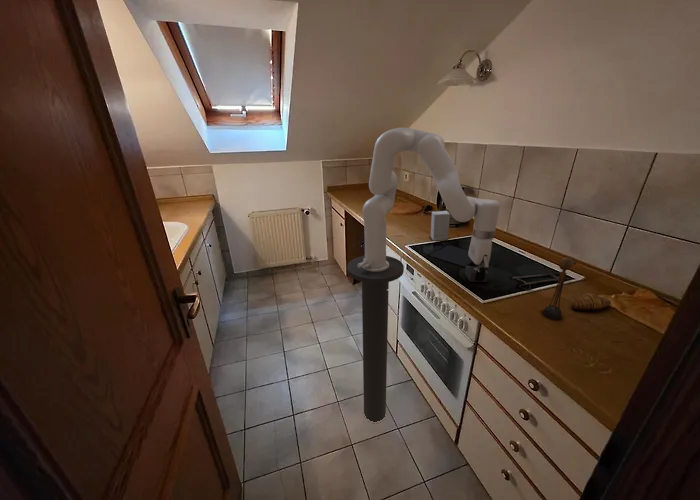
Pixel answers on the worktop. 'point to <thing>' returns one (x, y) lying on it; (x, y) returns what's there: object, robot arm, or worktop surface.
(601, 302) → the croissant
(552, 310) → the wooden tabletop sculpture
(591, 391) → the worktop surface
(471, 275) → the tape measure
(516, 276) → the hacksaw
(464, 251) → the mat
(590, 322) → the worktop surface
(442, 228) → the cosmetic box
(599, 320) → the worktop surface
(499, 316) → the worktop surface
